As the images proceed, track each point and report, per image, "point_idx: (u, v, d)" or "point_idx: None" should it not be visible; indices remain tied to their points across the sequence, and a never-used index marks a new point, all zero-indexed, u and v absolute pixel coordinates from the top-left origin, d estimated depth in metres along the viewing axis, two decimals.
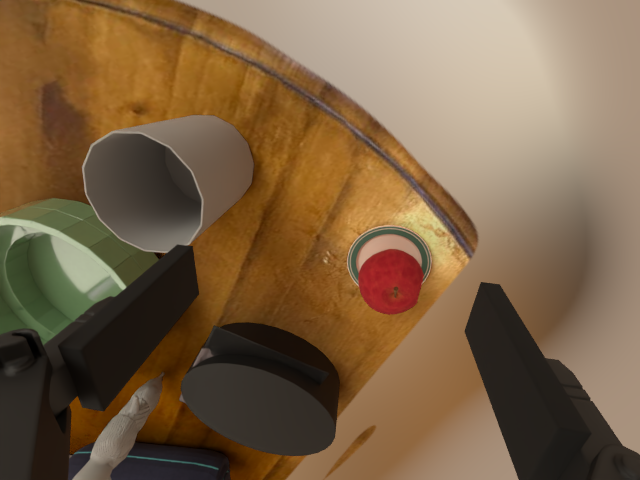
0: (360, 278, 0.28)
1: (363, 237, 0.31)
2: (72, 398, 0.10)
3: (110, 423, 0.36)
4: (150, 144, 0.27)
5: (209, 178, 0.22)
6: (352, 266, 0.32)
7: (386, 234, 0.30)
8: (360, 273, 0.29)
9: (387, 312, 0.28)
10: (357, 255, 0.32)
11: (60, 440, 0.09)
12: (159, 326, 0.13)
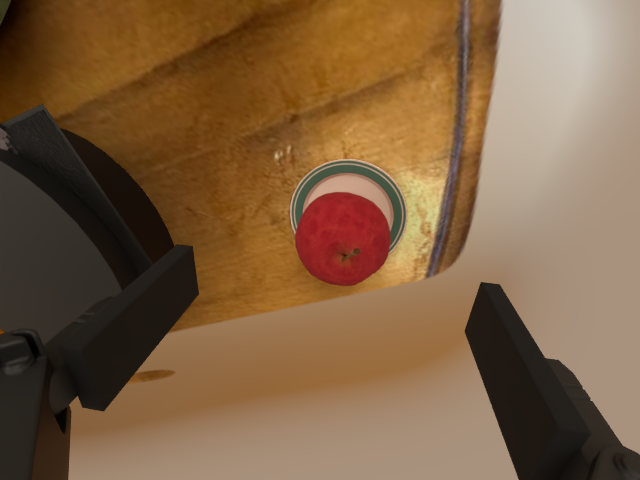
0: (315, 206, 0.18)
1: (348, 164, 0.21)
2: (72, 398, 0.10)
3: None
4: None
5: None
6: (304, 188, 0.22)
7: (375, 183, 0.21)
8: (319, 201, 0.19)
9: (315, 271, 0.18)
10: (321, 180, 0.21)
11: (60, 440, 0.09)
12: (159, 326, 0.13)
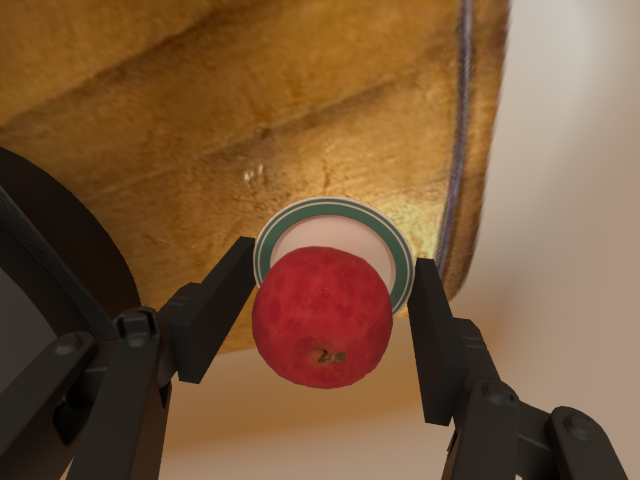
0: (278, 275, 0.12)
1: (331, 203, 0.14)
2: (174, 371, 0.11)
3: None
4: None
5: None
6: (270, 234, 0.16)
7: (370, 229, 0.15)
8: (285, 265, 0.12)
9: (280, 373, 0.12)
10: (293, 224, 0.15)
11: (161, 415, 0.10)
12: (232, 310, 0.14)
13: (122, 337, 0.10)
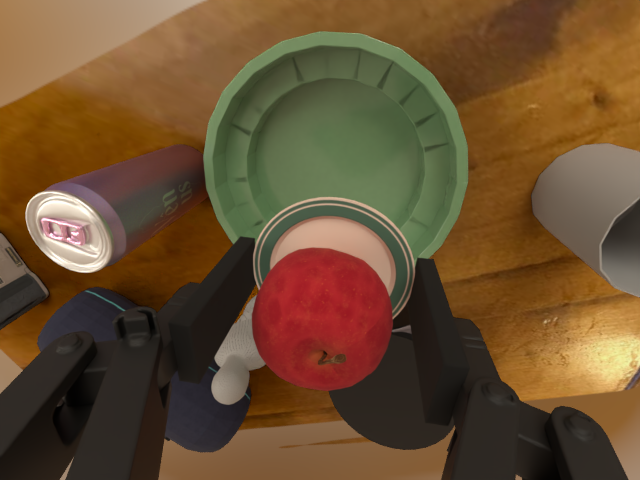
0: (278, 277, 0.12)
1: (331, 204, 0.14)
2: (174, 371, 0.11)
3: None
4: (611, 154, 0.24)
5: None
6: (270, 236, 0.16)
7: (370, 230, 0.15)
8: (285, 266, 0.12)
9: (279, 375, 0.12)
10: (293, 225, 0.15)
11: (160, 415, 0.10)
12: (232, 310, 0.14)
13: (122, 337, 0.10)
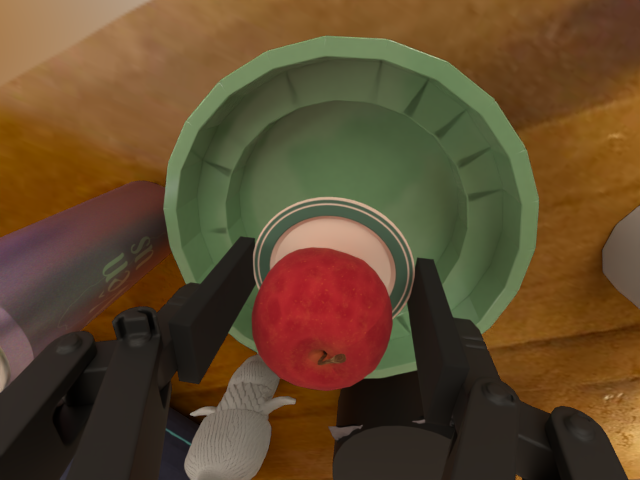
0: (278, 276, 0.12)
1: (331, 204, 0.14)
2: (174, 371, 0.11)
3: (250, 425, 0.22)
4: None
5: None
6: (270, 236, 0.16)
7: (370, 230, 0.15)
8: (285, 266, 0.12)
9: (279, 375, 0.12)
10: (293, 225, 0.15)
11: (161, 415, 0.10)
12: (232, 310, 0.14)
13: (122, 337, 0.10)
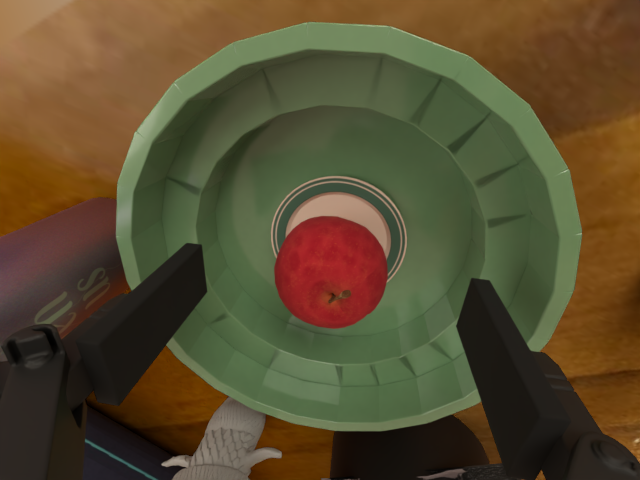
0: (297, 235, 0.15)
1: (337, 182, 0.18)
2: (88, 392, 0.10)
3: None
4: None
5: None
6: (286, 209, 0.19)
7: (369, 204, 0.18)
8: (301, 228, 0.15)
9: (297, 313, 0.15)
10: (306, 200, 0.18)
11: (76, 434, 0.09)
12: (170, 323, 0.13)
13: (16, 361, 0.09)
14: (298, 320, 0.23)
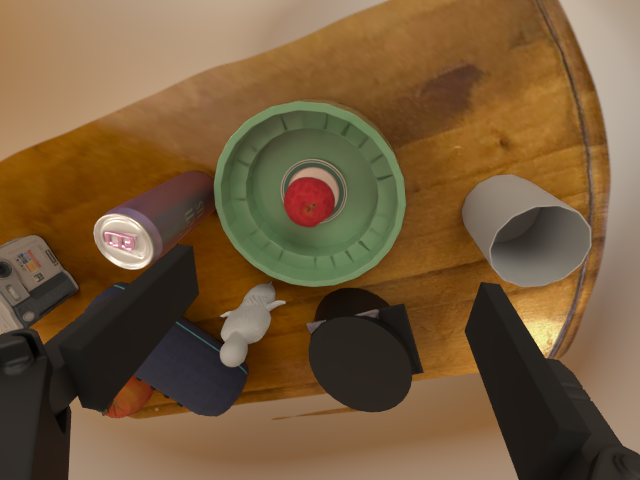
0: (293, 183, 0.35)
1: (313, 162, 0.37)
2: (72, 398, 0.10)
3: (259, 311, 0.39)
4: (509, 184, 0.34)
5: None
6: (288, 176, 0.39)
7: (328, 172, 0.38)
8: (296, 181, 0.35)
9: (294, 217, 0.35)
10: (298, 171, 0.38)
11: (60, 440, 0.09)
12: (159, 326, 0.13)
13: None
14: (294, 238, 0.43)
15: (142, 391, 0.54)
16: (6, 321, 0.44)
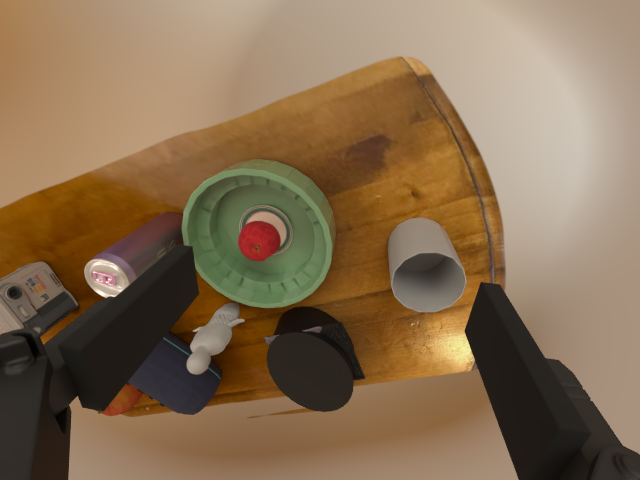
0: (245, 227, 0.44)
1: (263, 207, 0.46)
2: (72, 398, 0.10)
3: (221, 328, 0.47)
4: (416, 228, 0.42)
5: None
6: (245, 217, 0.47)
7: (276, 215, 0.47)
8: (247, 225, 0.44)
9: (245, 254, 0.44)
10: (252, 214, 0.47)
11: (60, 440, 0.09)
12: (159, 326, 0.13)
13: None
14: (253, 266, 0.52)
15: (133, 393, 0.63)
16: None
